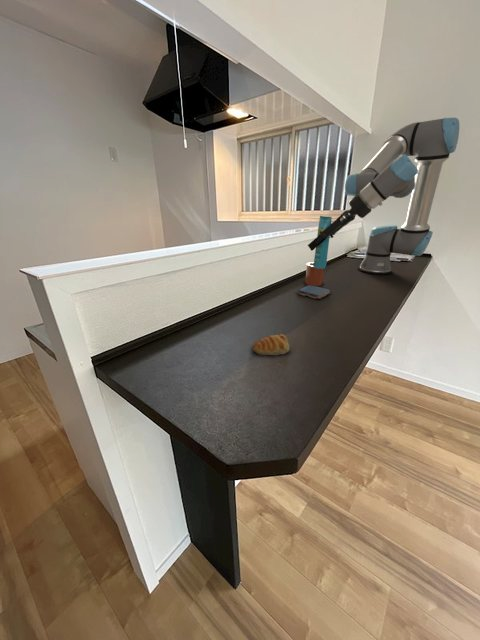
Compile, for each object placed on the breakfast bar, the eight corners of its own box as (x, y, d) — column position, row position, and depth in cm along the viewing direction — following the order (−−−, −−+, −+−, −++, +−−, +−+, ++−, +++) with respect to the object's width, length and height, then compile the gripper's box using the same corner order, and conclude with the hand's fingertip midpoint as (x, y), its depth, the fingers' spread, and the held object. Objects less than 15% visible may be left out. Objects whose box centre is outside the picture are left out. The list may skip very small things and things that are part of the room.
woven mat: (331, 293, 111) (331, 289, 110) (318, 300, 104) (319, 295, 103) (308, 288, 117) (309, 283, 116) (296, 294, 110) (296, 289, 109)
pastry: (258, 359, 66) (258, 346, 65) (248, 346, 72) (249, 334, 70) (291, 353, 69) (292, 340, 67) (279, 341, 75) (280, 329, 73)
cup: (308, 280, 128) (310, 261, 124) (324, 282, 124) (327, 263, 120) (302, 284, 122) (304, 264, 118) (318, 287, 118) (321, 267, 114)
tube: (309, 266, 107) (314, 215, 99) (318, 264, 109) (324, 215, 101) (320, 270, 101) (327, 217, 93) (330, 268, 103) (338, 216, 95)
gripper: (367, 211, 82) (310, 258, 97) (376, 209, 95) (325, 250, 110) (352, 192, 82) (297, 242, 97) (363, 193, 95) (314, 236, 111)
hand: (312, 246), depth 104 cm, fingers closed on tube, 5 cm apart
